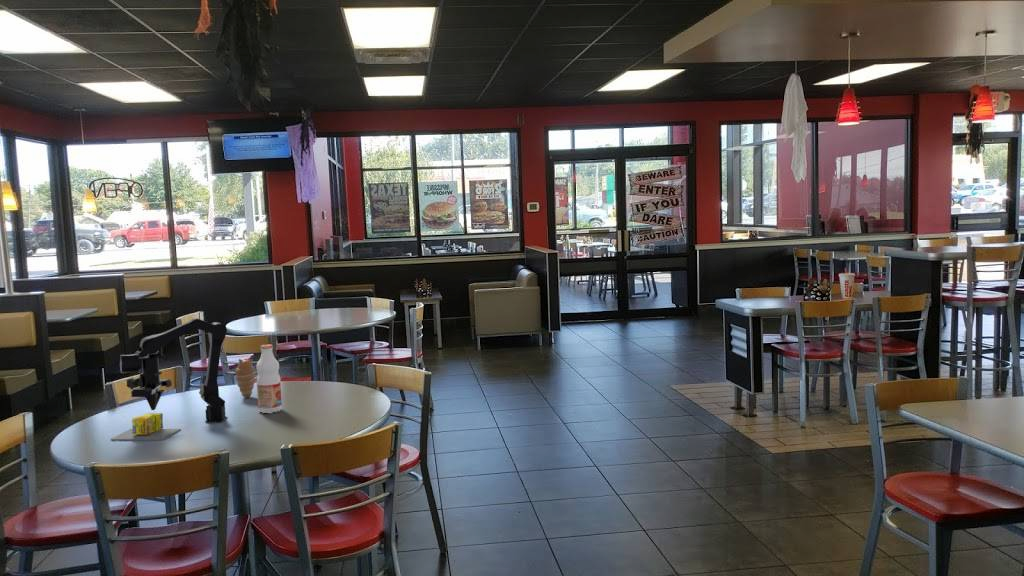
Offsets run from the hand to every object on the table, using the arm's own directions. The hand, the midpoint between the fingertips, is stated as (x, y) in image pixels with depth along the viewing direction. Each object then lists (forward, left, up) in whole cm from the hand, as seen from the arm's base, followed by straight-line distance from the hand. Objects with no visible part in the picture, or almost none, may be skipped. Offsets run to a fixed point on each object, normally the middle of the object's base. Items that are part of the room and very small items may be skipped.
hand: (153, 409), depth 292 cm
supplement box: (0, -2, -5) cm, 5 cm away
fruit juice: (-35, -28, -8) cm, 45 cm away
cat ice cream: (-15, -51, -8) cm, 54 cm away
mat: (0, +6, -8) cm, 10 cm away
